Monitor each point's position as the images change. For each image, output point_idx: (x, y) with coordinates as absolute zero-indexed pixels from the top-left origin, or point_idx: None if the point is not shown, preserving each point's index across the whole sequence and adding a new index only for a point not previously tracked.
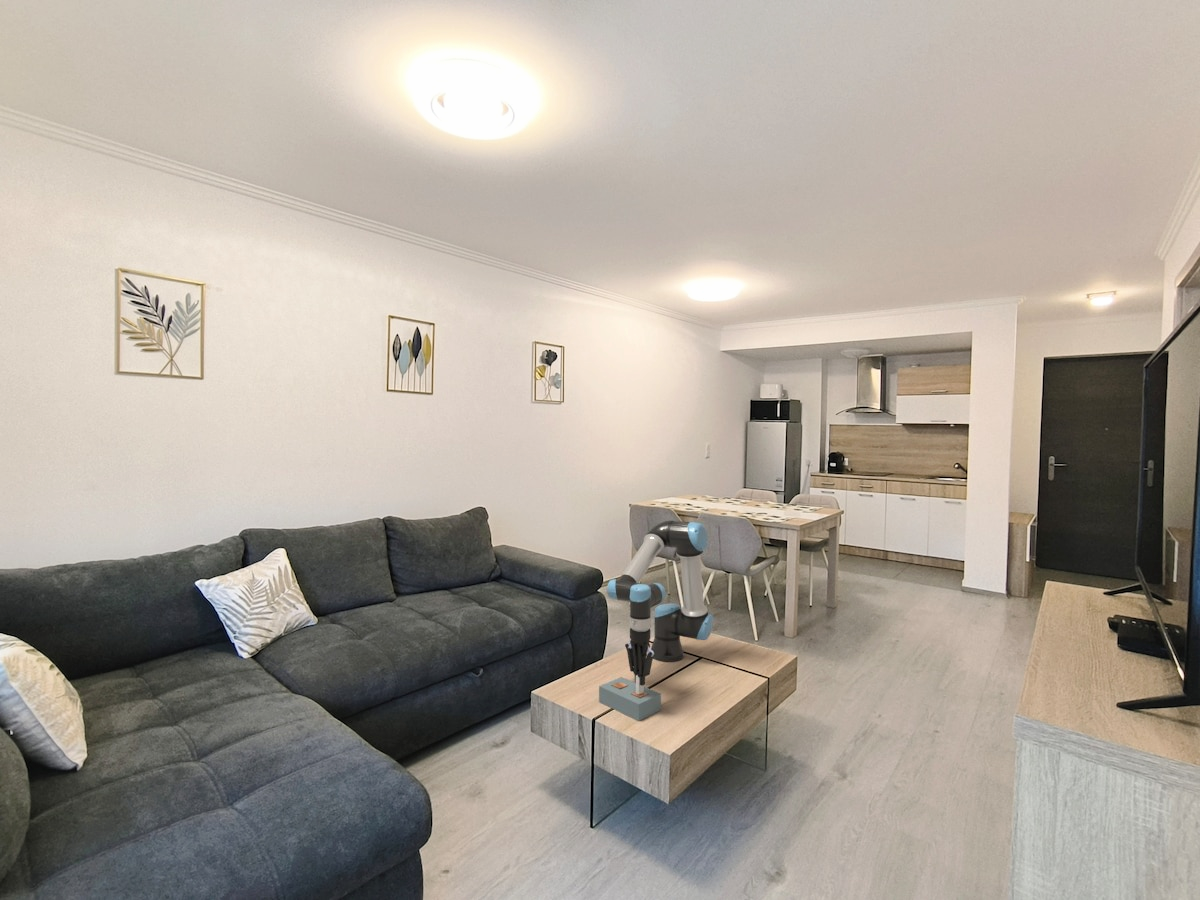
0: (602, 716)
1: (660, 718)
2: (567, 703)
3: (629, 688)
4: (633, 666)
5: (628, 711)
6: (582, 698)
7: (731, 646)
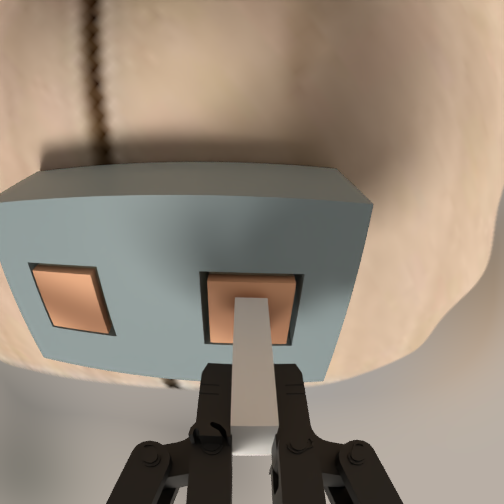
0: None
1: (373, 236)
2: (46, 359)
3: (134, 295)
4: (134, 476)
5: None
6: None
7: None
